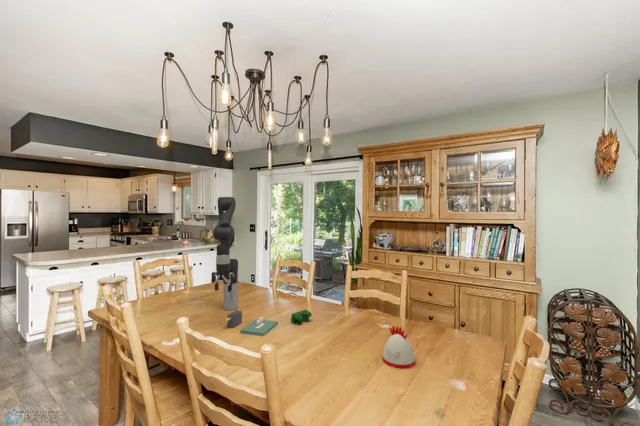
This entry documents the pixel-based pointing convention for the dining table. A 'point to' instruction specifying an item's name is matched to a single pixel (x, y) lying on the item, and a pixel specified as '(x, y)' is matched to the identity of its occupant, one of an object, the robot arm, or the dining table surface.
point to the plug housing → (234, 319)
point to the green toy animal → (301, 316)
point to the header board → (259, 327)
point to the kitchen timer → (398, 350)
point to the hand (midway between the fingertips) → (223, 291)
